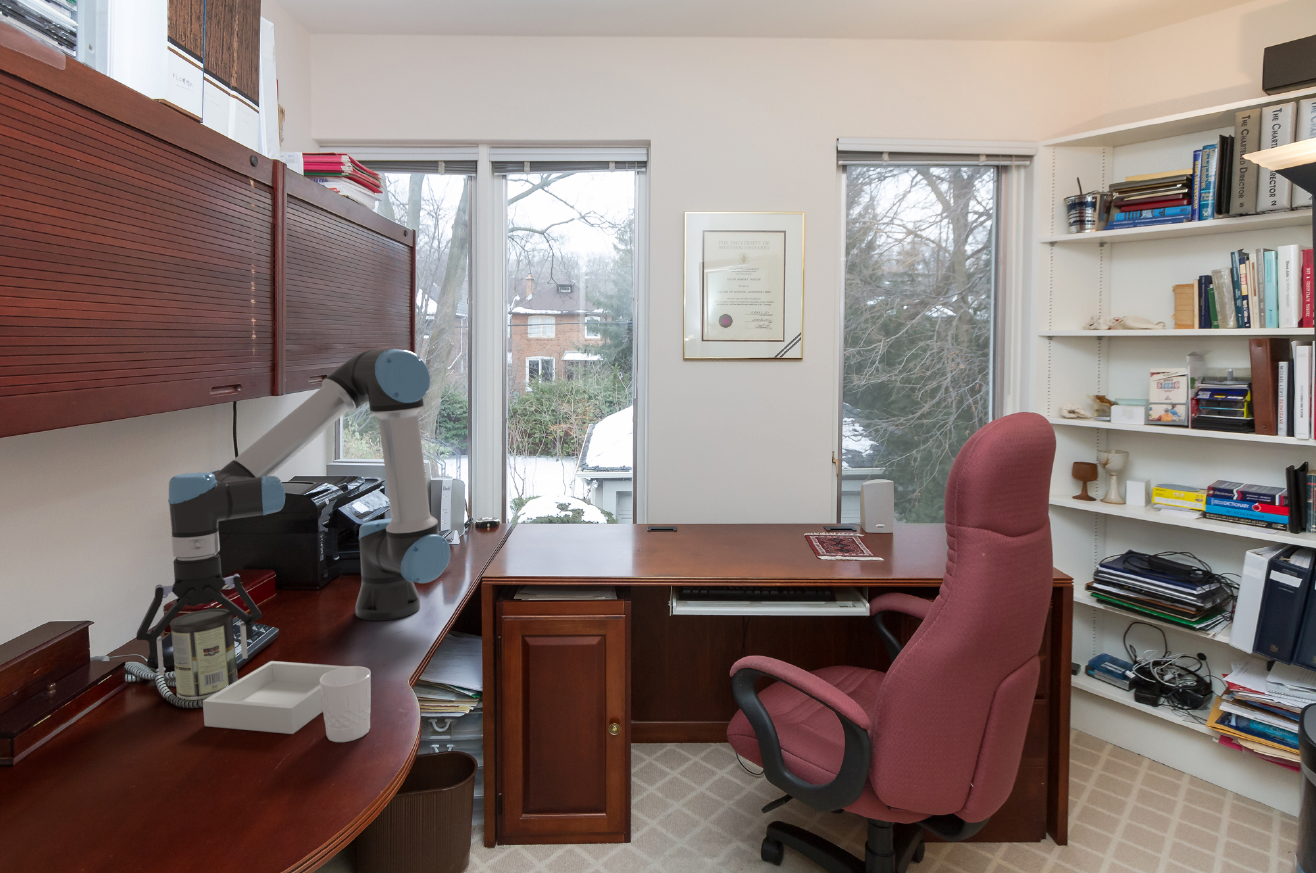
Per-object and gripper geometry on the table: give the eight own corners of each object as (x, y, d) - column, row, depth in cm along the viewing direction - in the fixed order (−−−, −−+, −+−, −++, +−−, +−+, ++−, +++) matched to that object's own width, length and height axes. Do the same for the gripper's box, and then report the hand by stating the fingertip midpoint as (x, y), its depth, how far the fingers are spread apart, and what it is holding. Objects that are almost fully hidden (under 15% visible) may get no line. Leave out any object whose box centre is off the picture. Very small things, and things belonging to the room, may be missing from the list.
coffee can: (211, 674, 149) (206, 605, 148) (250, 680, 146) (245, 611, 144) (162, 696, 139) (156, 623, 138) (203, 704, 136) (197, 629, 134)
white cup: (322, 748, 120) (319, 689, 119) (323, 726, 127) (319, 670, 126) (374, 738, 123) (371, 680, 122) (372, 717, 130) (369, 662, 129)
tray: (204, 725, 128) (202, 700, 127) (272, 683, 144) (271, 660, 144) (293, 733, 125) (291, 708, 124) (352, 689, 141) (350, 666, 141)
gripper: (114, 570, 130) (123, 687, 132) (273, 549, 144) (279, 655, 146) (115, 561, 136) (124, 673, 138) (268, 542, 150) (274, 644, 152)
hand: (204, 664), depth 142 cm, fingers open, 13 cm apart
